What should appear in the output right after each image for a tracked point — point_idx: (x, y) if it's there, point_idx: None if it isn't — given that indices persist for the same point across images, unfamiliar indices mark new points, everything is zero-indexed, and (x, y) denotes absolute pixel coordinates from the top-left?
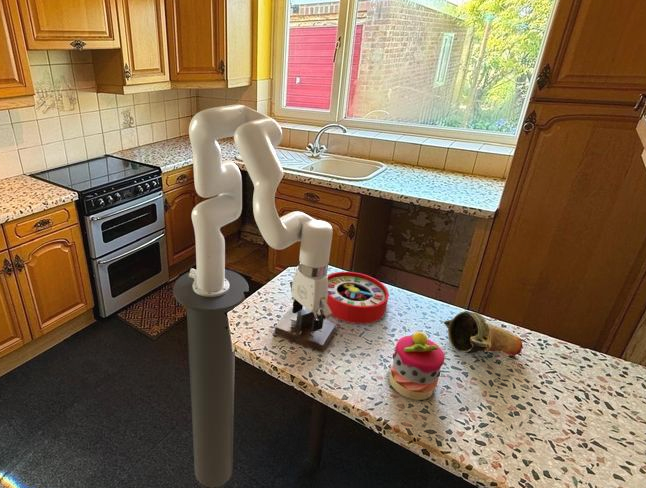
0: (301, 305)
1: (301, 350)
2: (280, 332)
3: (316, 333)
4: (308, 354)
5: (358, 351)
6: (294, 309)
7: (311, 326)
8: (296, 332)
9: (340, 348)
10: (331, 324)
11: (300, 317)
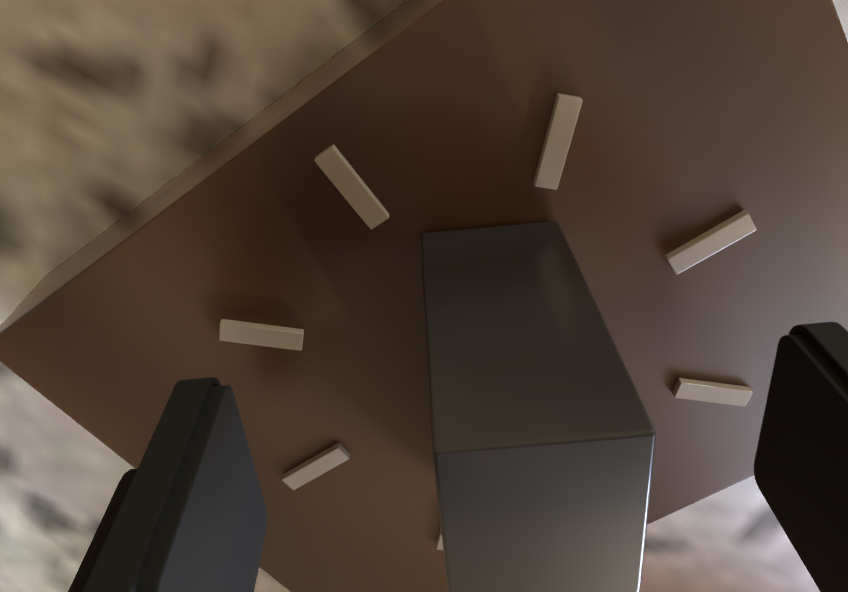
0: (822, 557)
1: (136, 39)
2: None
3: (263, 395)
4: (32, 93)
5: (18, 585)
6: (835, 391)
7: None
8: (387, 128)
9: (88, 480)
10: None
11: (491, 372)
